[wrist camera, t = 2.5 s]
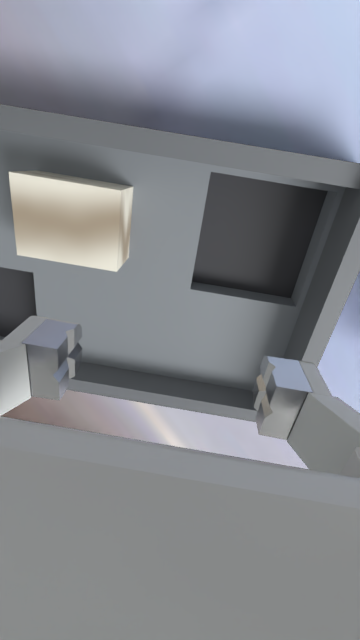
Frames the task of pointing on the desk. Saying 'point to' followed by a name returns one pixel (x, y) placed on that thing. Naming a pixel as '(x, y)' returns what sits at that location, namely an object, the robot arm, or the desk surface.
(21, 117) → the tray
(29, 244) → the block
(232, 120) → the desk surface
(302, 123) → the desk surface
